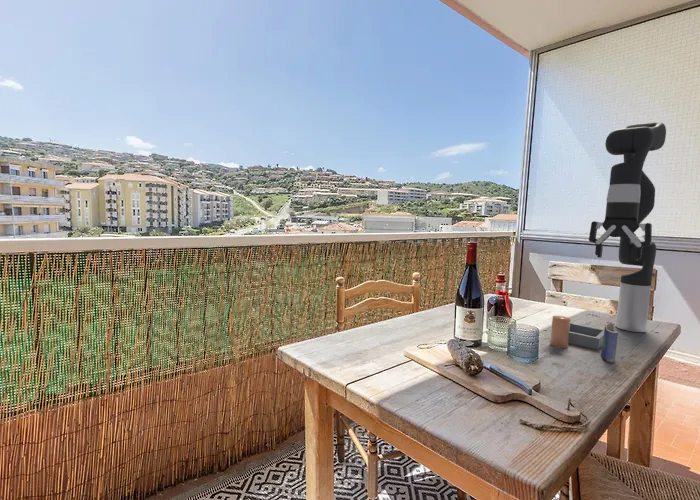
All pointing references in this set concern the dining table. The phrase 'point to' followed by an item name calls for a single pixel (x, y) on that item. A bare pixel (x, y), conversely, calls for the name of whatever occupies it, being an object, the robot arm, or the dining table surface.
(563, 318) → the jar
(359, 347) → the dining table surface
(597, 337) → the tray
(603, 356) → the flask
